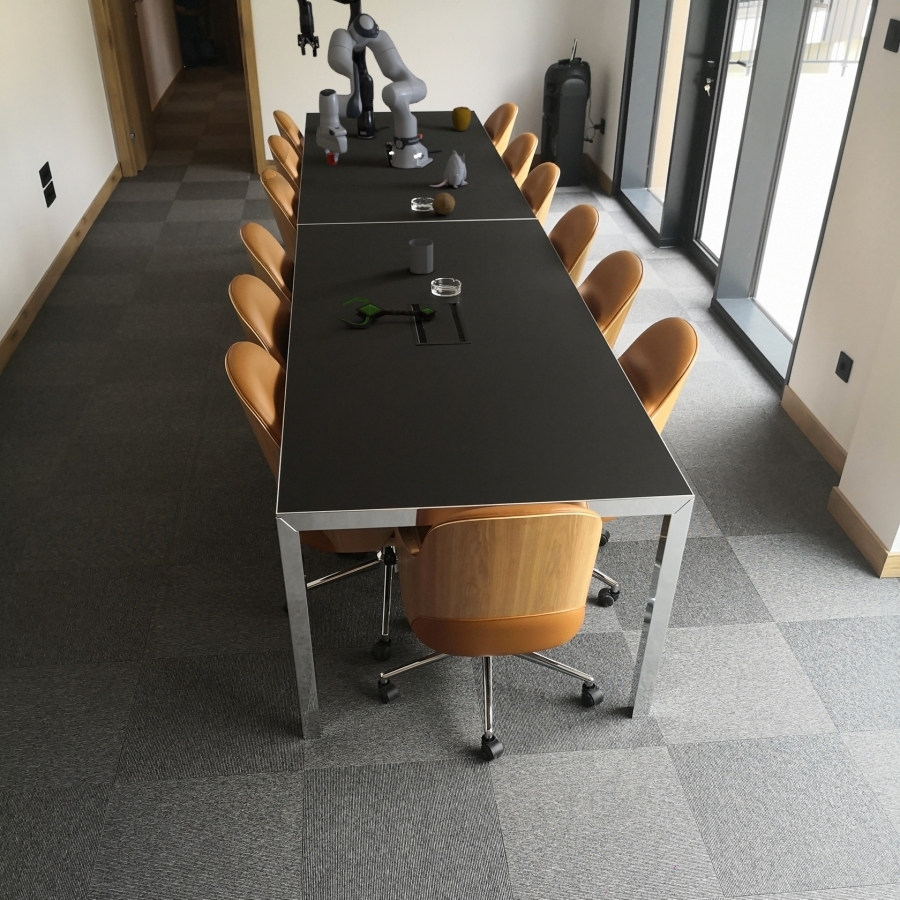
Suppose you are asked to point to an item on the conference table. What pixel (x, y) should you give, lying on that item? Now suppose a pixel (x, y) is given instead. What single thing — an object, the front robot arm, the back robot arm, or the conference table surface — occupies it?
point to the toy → (454, 171)
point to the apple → (461, 118)
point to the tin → (331, 158)
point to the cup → (421, 256)
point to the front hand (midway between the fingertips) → (332, 159)
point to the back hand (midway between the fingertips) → (309, 56)
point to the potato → (443, 203)
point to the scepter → (383, 312)
